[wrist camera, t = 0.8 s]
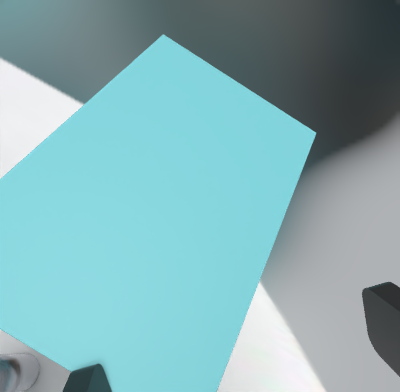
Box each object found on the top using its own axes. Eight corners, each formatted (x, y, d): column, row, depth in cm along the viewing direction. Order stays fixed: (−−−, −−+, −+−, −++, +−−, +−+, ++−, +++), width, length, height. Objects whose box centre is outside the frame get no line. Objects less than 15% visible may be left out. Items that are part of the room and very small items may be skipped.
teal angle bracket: (40, 329, 32) (-101, 268, 9) (121, 221, 40) (163, 34, 17) (120, 377, 33) (195, 446, 9) (185, 260, 41) (316, 133, 17)
